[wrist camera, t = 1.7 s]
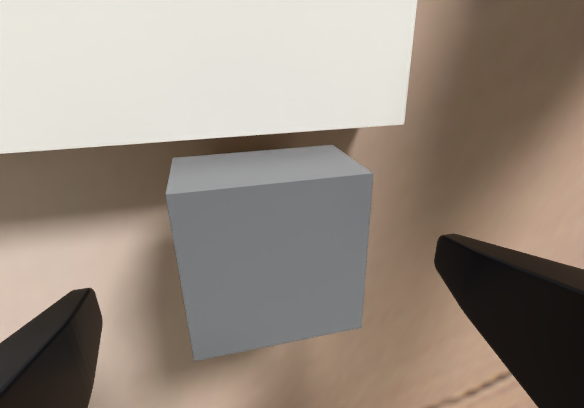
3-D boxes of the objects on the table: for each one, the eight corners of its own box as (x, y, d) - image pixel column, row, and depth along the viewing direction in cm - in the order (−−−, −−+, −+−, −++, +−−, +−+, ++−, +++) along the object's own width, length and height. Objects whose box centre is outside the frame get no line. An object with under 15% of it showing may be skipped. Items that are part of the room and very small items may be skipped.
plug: (306, 126, 14) (373, 173, 9) (306, 236, 16) (361, 327, 11) (177, 135, 13) (165, 194, 8) (194, 252, 15) (194, 360, 10)
